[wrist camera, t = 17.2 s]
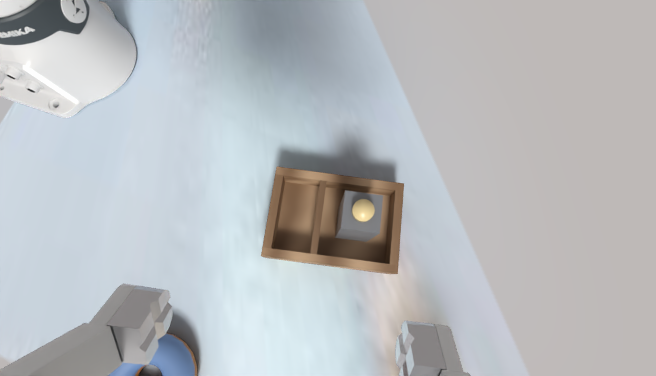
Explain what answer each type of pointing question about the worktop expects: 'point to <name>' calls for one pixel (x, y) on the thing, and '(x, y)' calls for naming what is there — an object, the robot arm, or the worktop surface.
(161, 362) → the doughnut
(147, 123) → the worktop surface
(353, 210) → the push button
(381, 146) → the worktop surface
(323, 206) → the caddy
